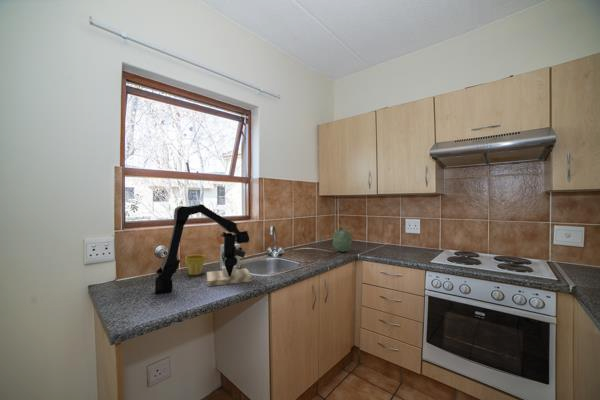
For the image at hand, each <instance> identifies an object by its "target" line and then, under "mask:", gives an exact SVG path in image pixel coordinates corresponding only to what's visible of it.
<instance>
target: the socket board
mask: <svg viewBox="0 0 600 400" xmlns="http://www.w3.org/2000/svg"><path fill="white" fill-rule="evenodd" d="M249 281H250V282H253V275H252V273H250V271H249V270H248V268H246V267H245V268H238V269H236V275H231V276H222V270H214V271H207V272H206V285H207V287H212V286H222V285H231V284H232V285H233V284H241V283H248V282H249ZM250 282H249V283H250Z"/></svg>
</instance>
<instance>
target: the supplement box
mask: <svg viewBox="0 0 600 400" xmlns="http://www.w3.org/2000/svg"><path fill="white" fill-rule="evenodd" d="M223 246H224V243H223V244H220V245H219V247H220V252H219V253H220V255H219V258H220V259H219V269H220V270H222V266H225V265H224V262H223V259H222V253H223V252H224V248H223ZM235 247H236V248H237V249H238V248H239V247H241V243H239V244H237V243H235ZM223 257H224V256H223ZM236 258H237V264H236V265H235V266H236V269H241V257H240V256H237V255H236Z"/></svg>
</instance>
